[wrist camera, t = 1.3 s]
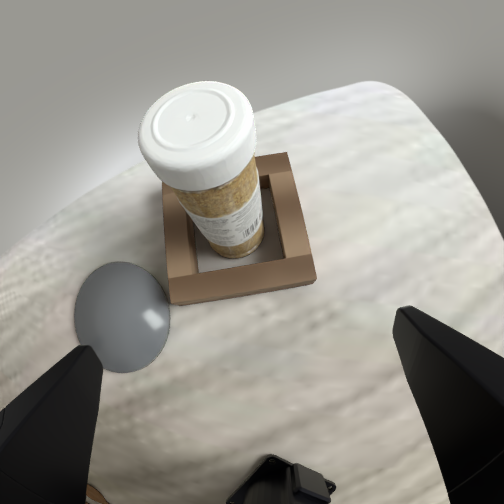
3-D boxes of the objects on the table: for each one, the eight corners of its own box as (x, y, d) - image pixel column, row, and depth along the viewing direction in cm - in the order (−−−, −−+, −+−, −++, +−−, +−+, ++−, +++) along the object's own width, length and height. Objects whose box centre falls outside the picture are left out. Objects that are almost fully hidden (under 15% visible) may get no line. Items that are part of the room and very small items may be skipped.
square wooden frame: (312, 283, 21) (316, 278, 19) (180, 305, 21) (170, 303, 19) (285, 166, 24) (286, 152, 22) (170, 188, 24) (161, 176, 22)
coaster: (133, 394, 20) (129, 395, 19) (64, 325, 22) (60, 324, 21) (192, 305, 21) (190, 304, 21) (113, 243, 23) (110, 241, 23)
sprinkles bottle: (236, 194, 24) (200, 64, 11) (277, 230, 22) (280, 109, 9) (195, 233, 23) (114, 128, 10) (235, 273, 22) (181, 192, 9)
